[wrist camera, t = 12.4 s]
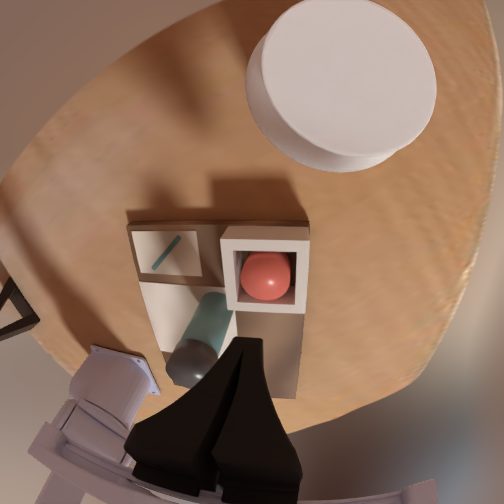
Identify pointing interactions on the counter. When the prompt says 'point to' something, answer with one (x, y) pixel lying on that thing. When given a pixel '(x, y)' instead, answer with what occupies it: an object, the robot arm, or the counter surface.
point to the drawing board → (210, 280)
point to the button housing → (265, 240)
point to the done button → (266, 274)
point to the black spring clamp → (23, 308)
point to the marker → (200, 341)
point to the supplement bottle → (340, 84)
